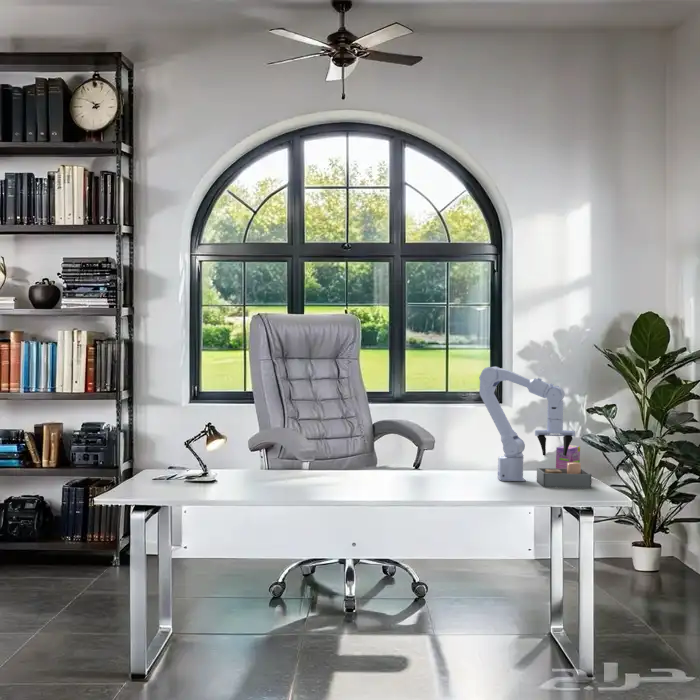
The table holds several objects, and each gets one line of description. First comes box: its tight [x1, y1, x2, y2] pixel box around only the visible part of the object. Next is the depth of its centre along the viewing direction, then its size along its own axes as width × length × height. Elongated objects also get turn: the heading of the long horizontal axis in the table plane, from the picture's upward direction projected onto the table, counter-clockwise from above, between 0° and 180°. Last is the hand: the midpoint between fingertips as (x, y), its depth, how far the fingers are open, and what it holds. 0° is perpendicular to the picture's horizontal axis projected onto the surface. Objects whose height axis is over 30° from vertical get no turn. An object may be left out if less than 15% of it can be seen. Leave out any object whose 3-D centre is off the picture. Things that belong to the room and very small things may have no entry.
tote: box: [536, 467, 592, 489], centre depth 334 cm, size 17×13×5 cm
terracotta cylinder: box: [567, 462, 582, 474], centre depth 337 cm, size 5×5×7 cm
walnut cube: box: [545, 469, 562, 474], centre depth 332 cm, size 5×5×5 cm
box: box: [555, 444, 581, 469], centre depth 354 cm, size 10×6×12 cm, turn 143°
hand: (554, 455), depth 337 cm, fingers open, 7 cm apart
